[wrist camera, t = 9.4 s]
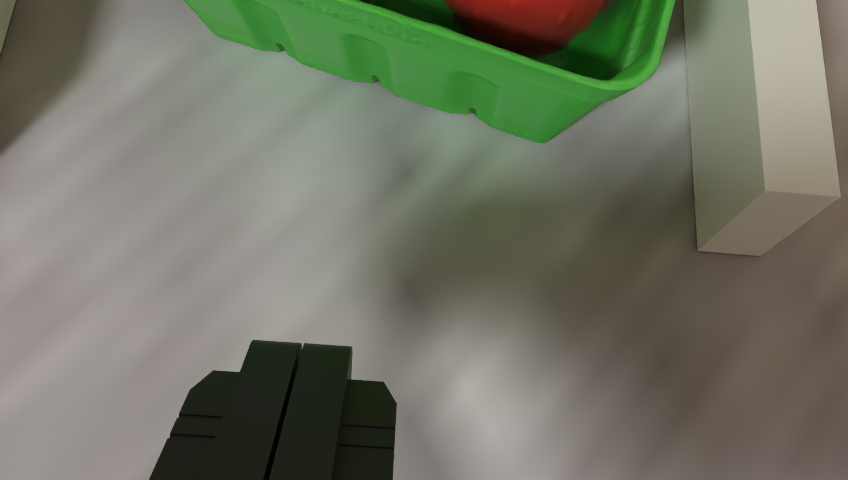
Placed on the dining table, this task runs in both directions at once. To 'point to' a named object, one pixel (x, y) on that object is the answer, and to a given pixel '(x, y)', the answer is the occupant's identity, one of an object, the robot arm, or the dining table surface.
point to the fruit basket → (466, 50)
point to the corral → (747, 120)
